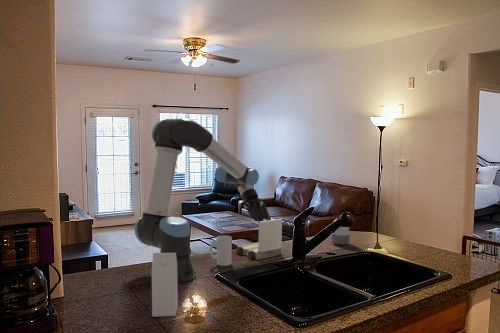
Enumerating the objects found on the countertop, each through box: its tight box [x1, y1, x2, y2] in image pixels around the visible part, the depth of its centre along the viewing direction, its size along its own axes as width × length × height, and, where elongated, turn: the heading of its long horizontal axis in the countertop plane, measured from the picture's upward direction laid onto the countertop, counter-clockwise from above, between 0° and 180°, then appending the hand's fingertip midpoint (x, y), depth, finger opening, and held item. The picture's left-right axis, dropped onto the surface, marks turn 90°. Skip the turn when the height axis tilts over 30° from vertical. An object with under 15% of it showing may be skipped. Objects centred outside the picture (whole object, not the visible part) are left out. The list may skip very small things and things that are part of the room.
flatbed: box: [235, 241, 282, 261], centre depth 198 cm, size 16×17×4 cm
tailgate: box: [258, 218, 283, 253], centre depth 190 cm, size 1×14×14 cm, turn 127°
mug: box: [209, 235, 233, 267], centre depth 180 cm, size 10×7×12 cm, turn 112°
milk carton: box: [151, 252, 179, 318], centre depth 129 cm, size 7×7×19 cm
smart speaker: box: [331, 218, 351, 246], centre depth 216 cm, size 10×9×14 cm
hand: (269, 231), depth 192 cm, fingers closed
